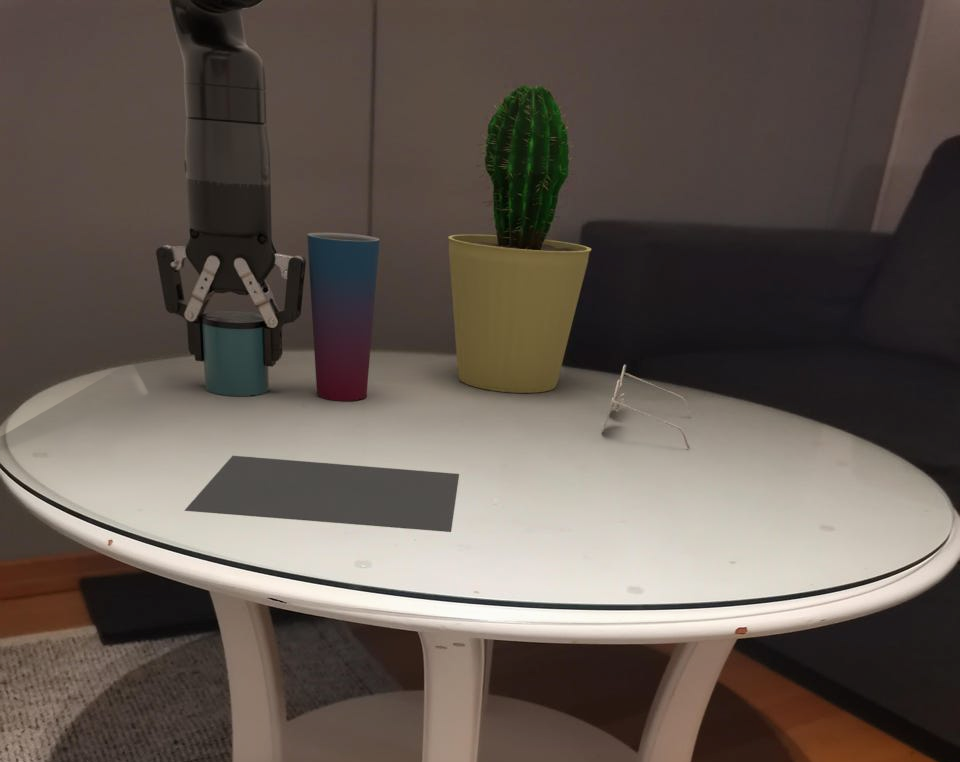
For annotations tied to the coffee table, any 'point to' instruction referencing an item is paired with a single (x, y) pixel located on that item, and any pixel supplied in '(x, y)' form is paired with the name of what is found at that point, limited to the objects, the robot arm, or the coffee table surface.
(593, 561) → the coffee table surface
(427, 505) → the cloth
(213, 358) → the pot
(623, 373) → the sunglasses
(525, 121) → the potted cactus
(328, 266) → the cup
